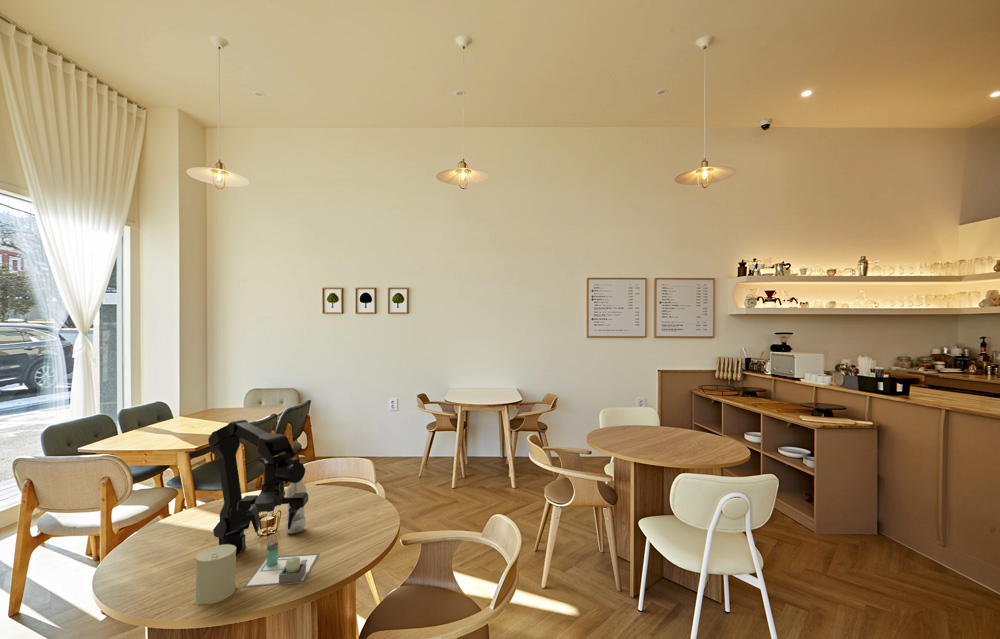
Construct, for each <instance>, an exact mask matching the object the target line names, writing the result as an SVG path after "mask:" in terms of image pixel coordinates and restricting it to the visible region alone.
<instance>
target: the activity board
mask: <svg viewBox="0 0 1000 639" xmlns="http://www.w3.org/2000/svg"><path fill="white" fill-rule="evenodd" d="M319 555H320V553H307V554H306V553H305V554H292V555H278V564H277V565H276V566H273V567H267V556H266V557H265V558H264V559H263V560H262V561H261V563H260V564H259V565H258V567H257V568H256V569H255V571H254V572H253V573H252V574H251V576H250V577H249V578H248V580H247V581H246V582H245V583H244V585H243V586H242V588H251V587H263V586H264V587H265V586H276V585H277V586H278V585H288V584H289V585H290V584H302V583H303V584H304V583H305V582H306V580H307V579H308V576H309V574H310V572H311V570H312V569H313V567H314V565H315V563H316V561H317V560H318V559H319V558H318V557H319ZM293 557H299V558H300V571H299V572H297V573H288V574H286V561H287V560H288V559H290V558H293Z"/></svg>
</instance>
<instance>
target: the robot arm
mask: <svg viewBox="0 0 1000 639" xmlns="http://www.w3.org/2000/svg"><path fill="white" fill-rule="evenodd" d="M241 439H242V440H244V441H246V442H248V443H250V444H251V445H253V446H255V447H256V451H257V453H258V454H259V455H261V456H262V458H261V459H260V460H259V463H260V464H263V481H262V482H263V484H262V485H261V490H260V493H259V494H252V495H245V496H242V488H241V483H240V476H239V475H240V474H239V469H238V468H239V467H238V462H237V461H238V460H237V452H238V450H239V448H240V446H241ZM207 441H208V445H209V448H210V452H211V453H212V454H213V455H214V457H216V458H217V460H218V468H219V474H220V481H221V489H222V495H223V496H222V497H223V506H222V508H221V510H220V512H219V521H218V523H217V524H216V526H214V528H213V529H212V531H213V535H214V536H213V537H215V538H218V545H224V544H230V545H234V546H236V556H238V555H240V553H241V552H243V550H244V549H245V548H246V547H247V545H246V536H247V535H246V534H245V530H248V529H249V528H250V524H252V526H253V529H254V530H255V533H257V532H258V531H259V528H260V514H261V513H265V512H267V513H271V512H273V511H274V510H275V508H276V507H277V506H282V505H288V504H289V506H290V508H289V509H288V508H287V512H288V511H289V519H288V530H289V529H290V528H291V526H292V523H293V520H294V518H295V515H296V513H297V511H298V510H299V509H300V508H301V507H304V508H305V506H306V504H307V503H308V502H309V493H308V492H307V491H306V492H302V493H295V494H294V495H293V496H292V497H287V496H286V491H285V483H286V482H287V483H290V484H291V483H298V482H299V481H301V480H302V481H303V479H304V476H305V473H306V468H305V466H304V464H303V463H301V462H300V458H297V456H296V453H295V450H294V448H293V447H292V444H291V443H290V441H289V439H288V437H287V436H286V435H284V434H281V433H271V432H267V431H265V430H264V429H262V428H259V427H258V426H256V425H253V424H252V423H249V421H248V420H247V419H239V420H234V421H231V422H229V423H228V424H226V425H224V426H223V427H220V428H219V429H217V430H215V431H213V432H211V434H210V435H209V436H208V439H207Z"/></svg>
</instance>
